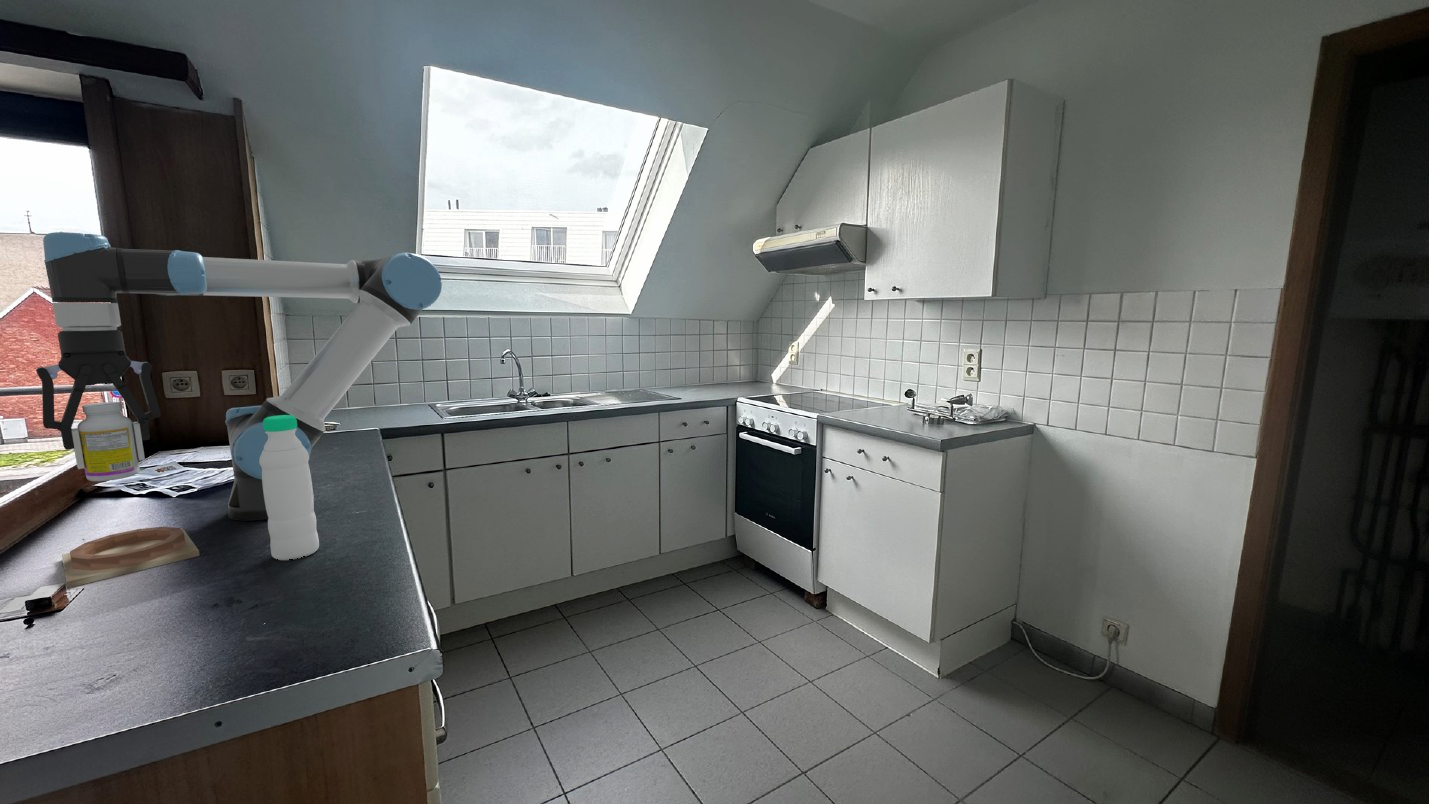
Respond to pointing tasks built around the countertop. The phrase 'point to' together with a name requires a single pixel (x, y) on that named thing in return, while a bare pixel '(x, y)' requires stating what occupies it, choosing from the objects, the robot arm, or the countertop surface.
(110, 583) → the countertop surface
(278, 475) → the water bottle
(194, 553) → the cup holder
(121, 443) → the supplement bottle
